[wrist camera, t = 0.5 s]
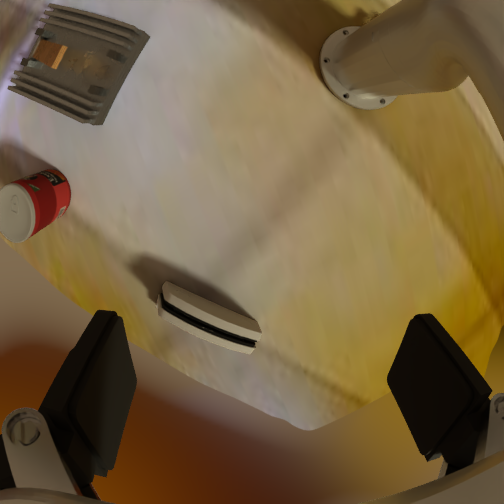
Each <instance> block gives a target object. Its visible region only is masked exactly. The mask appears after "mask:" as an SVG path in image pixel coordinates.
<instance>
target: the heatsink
mask: <svg viewBox="0 0 504 504" xmlns="http://www.w3.org/2000/svg"><path fill="white" fill-rule="evenodd" d="M48 7H51V8H53V9H54V10H53V12H51V11H46V10H45V12H44V14H46V15H48V16H50V17H49V19H45V18H41V19H40V21H42V22H44V23H46V24H45V26H44V28H43V29H41V28H38V29H37V31H36V33H35V34H36V35H39V37H38V39H37V41H36V43H35V45H34V47H33V49H32V51H31V53H30V55H29V57H28V59H27V58H23V59H22V61H21V65H24V68H23V70H22V71H16V70H15V71H14V74H16V75H19V76H20V77H19V79H17V78H12V79H11V82H13V83H16V84H17V85H16V86H8V89H9V90H11V91H13V92H16V93H18V94H20V95H22V96H25V97H27V98H29V99H31V100H34V101H36V102H38V103H40V104H42V105H45V106H47V107H49V108H51V109H53V110H55V111H58V112H60V113H62V114H64V115H66V116H68V117H70V118H73V119H75V120H77V121H79V122H81V123H90V124H92V125H103V123H104V121H105V118H106V116H107V114H108V112H109V110H110V108H111V106H112V104H113V102H114V100H115V98H116V96H117V94H118V92H119V90H120V88H121V86H122V84H123V83H124V81H125V79H126V77H127V75H128V73H129V72H130V70H131V68H132V66H133V65H134V63H135V61H136V60H137V58H138V56H139V54H140V53H141V51H142V50H143V48H144V46H145V45H146V43H147V42H148V40H149V38H150V36H149V35H148V34H147V33H145V32H144V31H142V30H139V29H138V28H136V27H135V26H133V25H130V24H127V23H124V22H121V21H118V20H115V19H111V18H108V17H105V16H101V15H98V14H94V13H90V12H86V11H82V10H78V9H74V8H70V7H65V6H61V5H56V4H51V3H50V4H49V5H48ZM41 40H45V41H49V42H53V43H56V44H60V45H63V46H66V47H67V49H66V51H65V53H64V55H63V57H62V59H61V61H60V63H59V65H58V67H57V69H53V68H51V67H49V66H47V65H46V64H44V63H42V62H40V61H39V60H37V59H35V58H33V55H34V53H35V51H36V49H37V47H38V45H39V43H40V41H41Z"/></svg>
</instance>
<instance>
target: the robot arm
mask: <svg viewBox="0 0 504 504" xmlns="http://www.w3.org/2000/svg"><path fill="white" fill-rule="evenodd" d="M343 33H345V35H344V34H343ZM324 60H326V61H327V63H325V62H324ZM319 64H320V70H321V74H322V77H323V79H324V81H325V83H326V85H327V86H328V88H329V89H330V91H331V92H332V93H333V94H334V95H335V96H336V97H337V98H339V99H340V100H341V101H342V102H344V103H346V104H348V105H350V106H352V107H355V108H358V109H365V110H373V109H379V108H382V107H385V106H387V105H388V104H390V103H391V102H393V101H394V100H395V98H396V97H397V96H398V95H407V94H418V93H431V92H443V91H448V90H451V89H454V88H456V87H457V86H459V85H460V84H461V83H463V82H464V81H465V80H466V78H467V77H468V75H469V77H470V78H471V80H472V81H473V83H474V85H475V87H476V88H477V90H478V92H479V93H480V94H481V95H482V97H483V99H484V101H485V103H486V105H487V107H488V109H489V111H490V113H491V115H492V117H493V119H494V121H495V123H496V125H497V127H498V129H499V132H500V134H501V136H502V138H503V141H504V0H401V1H400V2H398V3H397V4H395V5H393V6H392V7H390V8H389V9H387V10H386V11H384V12H383V13H381V14H380V15H378V16H376V17H375V18H373V19H372V20H370V21H369V22H367V23H366V24H365V25H363V26H362V27H360V26H350V27H344V28H342V29H339V30H337V31H336V32H334V33H333V34H331V35H330V36H329V37H328V38H327V39H326V41H325V42H324V44H323V46H322V48H321V51H320V57H319ZM343 95H345V96H346V97H345V98H344V97H343ZM380 100H381V103H380ZM136 383H137V378H136V374H135V370H134V366H133V362H132V359H131V354H130V350H129V346H128V341H127V337H126V332H125V328H124V323H123V319H122V317H120V316H118V315H117V313H116V312H115V311H106V310H98V311H97V312H96V313H95V315H94V316H93V318H92V319H91V321H90V323H89V324H88V326H87V328H86V329H85V331H84V332H83V334H82V336H81V337H80V339H79V341H78V342H77V344H76V346H75V347H74V348H73V349H72V350H71V351H70V352H69V354H68V356H67V358H66V359H65V361H64V363H63V365H62V366H61V368H60V370H59V372H58V374H57V375H56V377H55V379H54V381H53V383H52V385H51V386H50V388H49V390H48V392H47V394H46V396H45V398H44V400H43V402H42V404H41V406H40V408H39V410H38V411H36V410H34V409H32V408H21V409H17V410H15V411H13V412H12V413H10V414H9V415H8V416H7V417H6V419H5V421H4V422H3V426H2V434H1V435H0V504H114V503H109V502H105V501H101V499H100V498H99V496H98V494H97V492H96V491H95V489H94V487H93V486H92V484H91V482H92V481H93V478H94V474H95V475H99V476H103V477H106V476H107V472H108V470H112V469H113V468H114V464H115V461H116V457H117V453H118V449H119V445H120V442H121V438H122V434H123V430H124V427H125V423H126V420H127V416H128V413H129V409H130V406H131V402H132V399H133V395H134V392H135V389H136ZM387 383H388V385H389V387H390V389H391V392H392V394H393V396H394V398H395V400H396V402H397V404H398V406H399V408H400V410H401V412H402V414H403V416H404V419H405V421H406V423H407V425H408V427H409V429H410V431H411V434H412V435H413V438H414V440H415V442H416V444H417V447H418V449H419V451H420V453H421V454H422V455H424V456H425V458H426V460H427V462H428V461H431V460H434V459H436V458H439V457H440V456H441V455H442V456H443V458H444V460H443V464H442V467H441V470H440V473H439V476H438V479H437V480H434V481H432V482H429V483H426V484H424V485H421V486H418V487H415V488H412V489H409V490H407V491H403V492H400V493H397V494H393V495H390V496H386V497H383V498H379V499H376V500H371V501H368V502H363V503H359V504H504V393H499V394H496V395H494V396H493V398H492V399H491V400H490V399H489V398H488V397H489V395H490V394H491V392H492V389H491V388H490V387H489V385H488V384H487V382H486V381H485V380H484V378H483V377H482V376H481V374H480V373H479V372H478V370H477V369H476V368H475V366H474V365H473V364H472V362H471V361H470V360H469V359H468V357H467V356H466V355H465V353H464V352H463V351H462V350H461V348H460V347H459V346H458V345H457V343H456V342H455V341H454V340H453V338H452V337H451V336H450V335H449V334H448V332H447V331H446V330H445V329H444V328H443V326H442V325H441V324H440V323H439V322H438V320H437V319H436V318H435V317H434V316H433V315H432V314H430V313H428V314H417V315H415V316H414V318H413V319H411V320H410V322H409V325H408V327H407V330H406V332H405V335H404V338H403V340H402V343H401V345H400V348H399V350H398V352H397V355H396V357H395V359H394V362H393V364H392V366H391V369H390V371H389V373H388V376H387Z"/></svg>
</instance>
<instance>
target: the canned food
mask: <svg viewBox="0 0 504 504" xmlns="http://www.w3.org/2000/svg"><path fill="white" fill-rule="evenodd" d="M70 199H71V190H70V185H69V183H68V181H67V179H66V177H65V176H64V175H63V174H62V173H61V172H59V171H56V170H52V169H49V170H45V171H42V172H39V173H36V174H33V175H30V176H27V177H25V178H22V179H19V180H17V181H14V182H11V183H9V184H7V185H5V186H4V187H2V188H1V189H0V231H1V233H2V234H3V235H4V236H5V237H6V238H7V239H8V240H10V241H11V242H14V243H20V242H23V241H25V240H27V239H28V238H30V237H31V236H33V235H34V234H36V233H37V232H38V231H40V230H41V229H43V228H44V227H46V226H47V225H49V224H50V223H52V222H53V221H55V220H56V219H58V218H59V217H61V216H62V215H63V214H64V213H65V211H66V210H67V208H68V206H69V204H70Z"/></svg>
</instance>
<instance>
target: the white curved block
mask: <svg viewBox="0 0 504 504" xmlns="http://www.w3.org/2000/svg"><path fill="white" fill-rule="evenodd" d="M162 289H163V293H161V294H159V295H158V299H157V303H156V308H158V315H159V316H160V317H161V318H163V319H165V320H166V321H168V322H170V323H171V324H173V325H175V326H177V327H179V328H180V329H182V330H184V331H186V332H188V333H191V334H193V335H195V336H197V337H199V338H201V339H204V340H206V341H209V342H211V343H214V344H216V345H219V346H222V347H225V348H228V349H231V350H234V351H238V352H242V353H246V354H251V353H252V352H253V350H254V349H255V348H256V347H255V342H257V341H259V340H260V337H261V334H262V332H261V329H260V327H259V324H258V322H257V321H255V320H252V319H250V318H248V317H245V316H243V315H241V314H238V313H236V312H234V311H231V310H229V309H227V308H225V307H222V306H220V305H218V304H216V303H213V302H211V301H209V300H207V299H205V298H202V297H200V296H198V295H196V294H194V293H192V292H189V291H187V290H185V289H183V288H181V287H179V286H177V285H175V284H172V283H170V282H168V281H166V282H165V283H164V284H163V286H162Z"/></svg>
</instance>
